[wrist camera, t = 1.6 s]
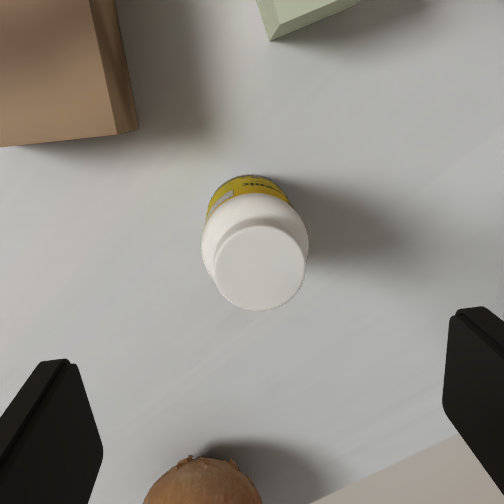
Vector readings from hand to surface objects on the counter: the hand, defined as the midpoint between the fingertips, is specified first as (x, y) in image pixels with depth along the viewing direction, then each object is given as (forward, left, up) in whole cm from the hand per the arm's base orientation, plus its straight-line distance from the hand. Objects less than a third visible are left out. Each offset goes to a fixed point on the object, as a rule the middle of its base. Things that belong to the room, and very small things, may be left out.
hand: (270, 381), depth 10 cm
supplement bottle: (0, 0, -17) cm, 17 cm away
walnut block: (+10, +10, -17) cm, 22 cm away
